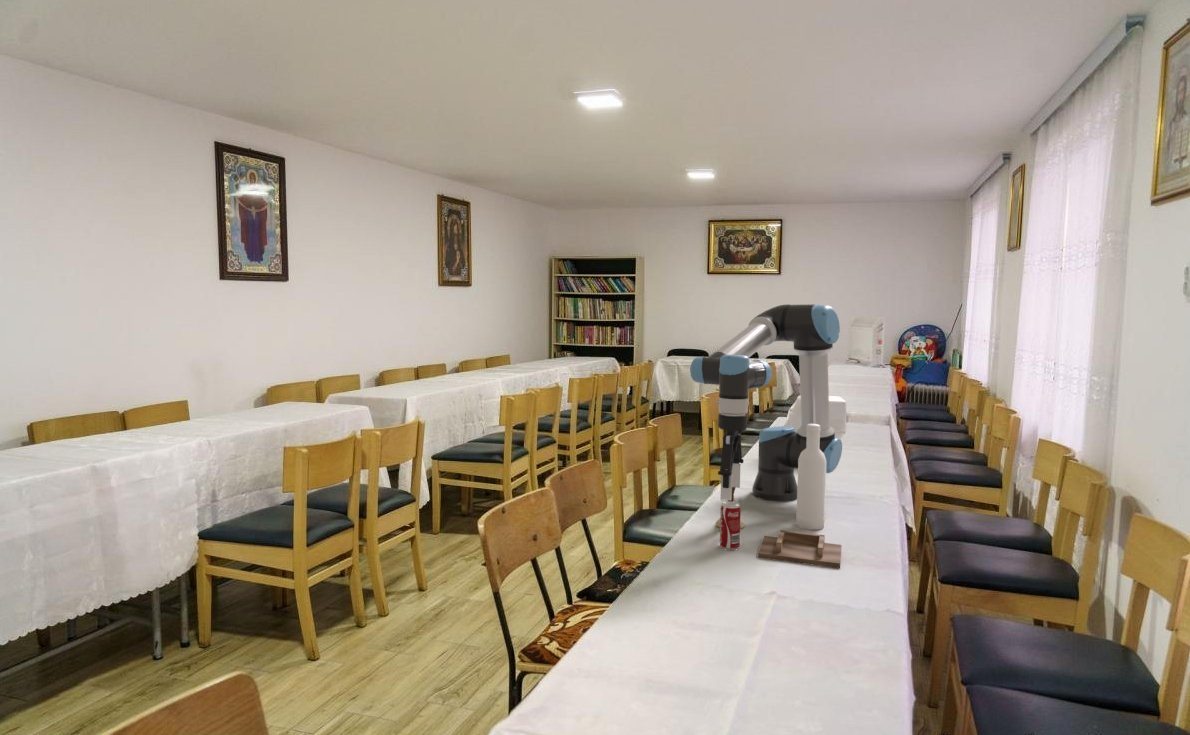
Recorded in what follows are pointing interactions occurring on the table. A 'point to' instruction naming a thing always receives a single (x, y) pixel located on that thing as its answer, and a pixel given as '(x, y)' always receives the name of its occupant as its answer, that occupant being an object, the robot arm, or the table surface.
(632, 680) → the table surface
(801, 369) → the robot arm
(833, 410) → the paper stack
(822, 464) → the bottle
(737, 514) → the soda can
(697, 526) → the table surface
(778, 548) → the can rest
